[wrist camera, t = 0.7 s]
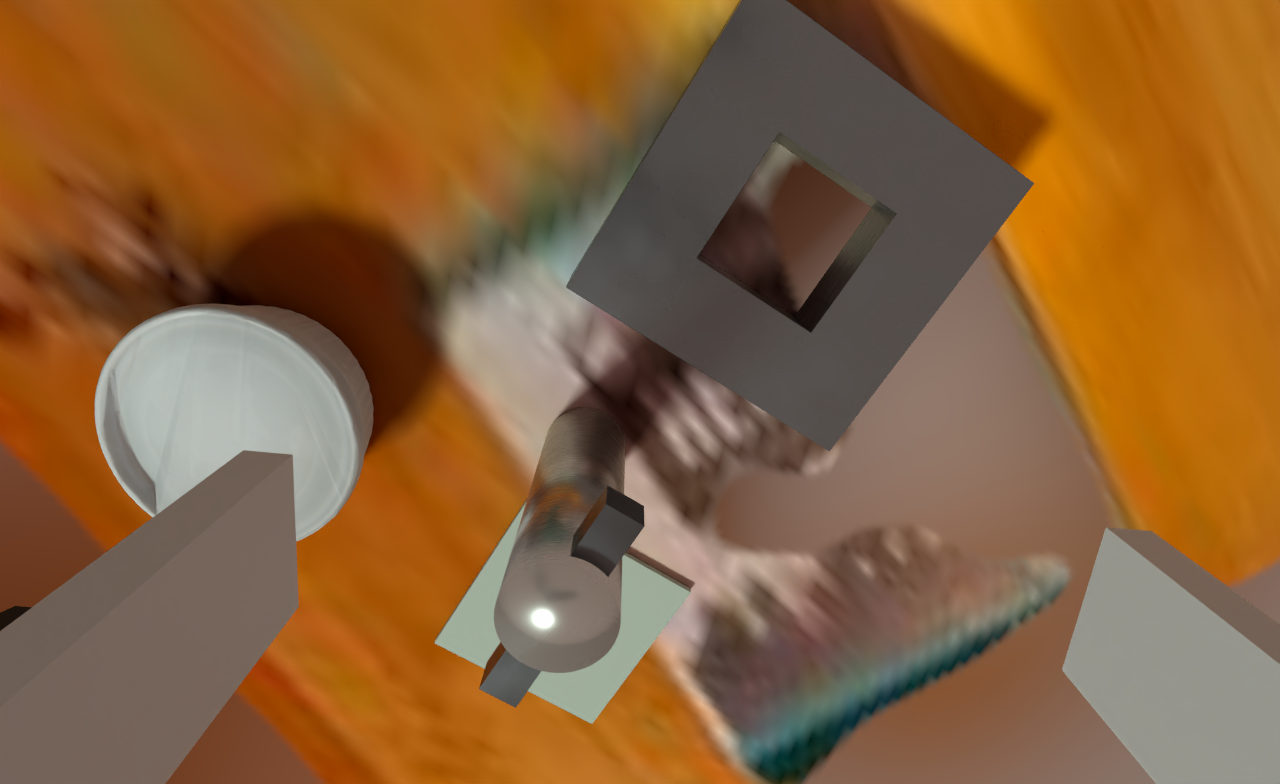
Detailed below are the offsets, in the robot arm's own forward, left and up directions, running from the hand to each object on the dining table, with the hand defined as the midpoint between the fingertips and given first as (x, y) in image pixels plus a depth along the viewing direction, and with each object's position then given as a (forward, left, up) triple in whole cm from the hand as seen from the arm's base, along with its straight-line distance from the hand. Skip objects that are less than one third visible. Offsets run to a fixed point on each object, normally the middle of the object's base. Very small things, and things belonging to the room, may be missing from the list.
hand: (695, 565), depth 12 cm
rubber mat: (+5, -17, -25) cm, 31 cm away
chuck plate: (+3, +6, -25) cm, 26 cm away
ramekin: (-13, -14, -25) cm, 32 cm away
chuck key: (+1, -8, -25) cm, 26 cm away
